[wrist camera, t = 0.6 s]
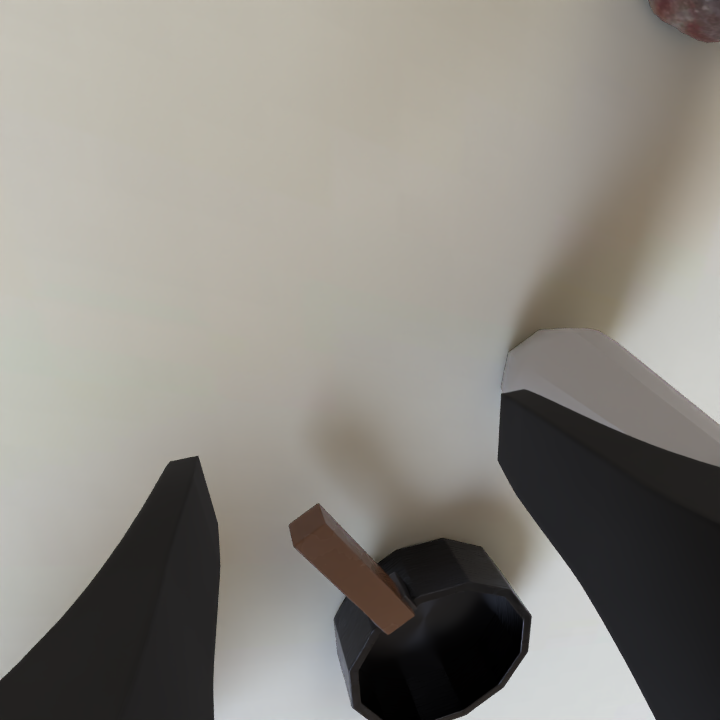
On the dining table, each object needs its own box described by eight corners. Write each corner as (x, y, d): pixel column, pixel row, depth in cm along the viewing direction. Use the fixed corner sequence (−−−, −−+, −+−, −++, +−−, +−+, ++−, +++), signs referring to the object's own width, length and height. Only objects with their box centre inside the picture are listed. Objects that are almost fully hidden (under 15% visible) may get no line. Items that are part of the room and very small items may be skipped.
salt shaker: (610, 344, 26) (932, 503, 15) (545, 437, 27) (796, 652, 16) (530, 292, 24) (839, 434, 12) (462, 396, 25) (687, 615, 13)
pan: (525, 603, 32) (563, 657, 29) (394, 700, 32) (416, 765, 29) (381, 415, 24) (410, 460, 21) (206, 544, 24) (207, 610, 21)
